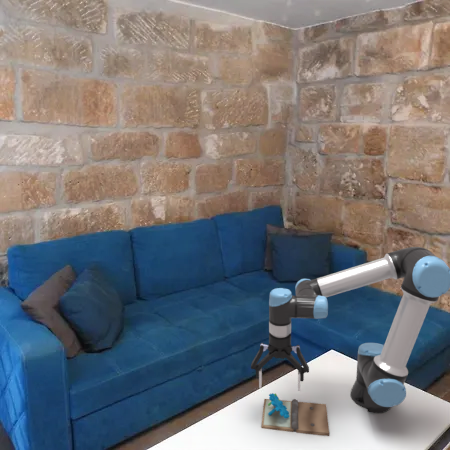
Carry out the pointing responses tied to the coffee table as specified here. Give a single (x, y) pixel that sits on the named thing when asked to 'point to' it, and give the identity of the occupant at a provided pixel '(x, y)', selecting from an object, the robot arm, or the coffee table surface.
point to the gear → (277, 406)
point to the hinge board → (297, 418)
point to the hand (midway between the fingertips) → (279, 387)
